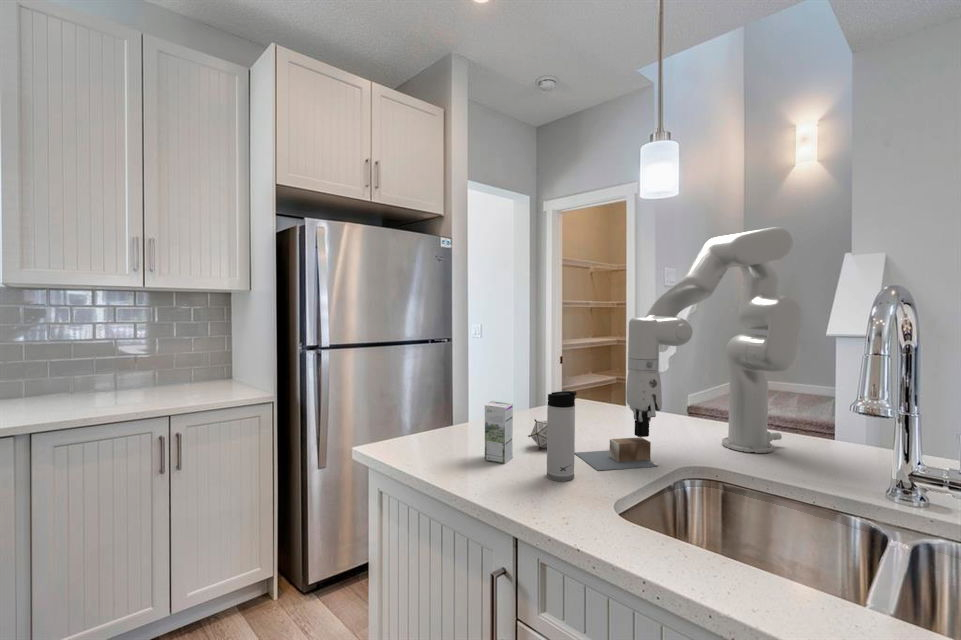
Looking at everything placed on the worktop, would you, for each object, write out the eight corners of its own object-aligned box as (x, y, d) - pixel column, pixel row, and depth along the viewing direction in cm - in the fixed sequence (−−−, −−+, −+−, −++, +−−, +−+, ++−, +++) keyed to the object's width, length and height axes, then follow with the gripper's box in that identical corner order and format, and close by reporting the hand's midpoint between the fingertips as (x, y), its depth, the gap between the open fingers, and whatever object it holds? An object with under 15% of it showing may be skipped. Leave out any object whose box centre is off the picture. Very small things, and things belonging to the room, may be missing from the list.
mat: (629, 449, 134) (629, 449, 134) (657, 466, 120) (657, 465, 120) (574, 453, 130) (574, 452, 130) (597, 471, 116) (597, 470, 116)
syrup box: (513, 457, 126) (513, 401, 126) (504, 464, 121) (505, 406, 120) (493, 454, 129) (493, 400, 128) (483, 461, 123) (483, 404, 123)
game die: (550, 463, 133) (561, 440, 127) (521, 450, 135) (531, 427, 129) (558, 440, 140) (568, 417, 134) (530, 428, 142) (539, 405, 136)
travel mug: (569, 484, 108) (570, 394, 107) (542, 478, 112) (543, 391, 111) (579, 475, 113) (580, 389, 113) (553, 470, 117) (554, 387, 116)
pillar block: (641, 437, 129) (609, 439, 127) (650, 442, 124) (618, 444, 123) (640, 454, 129) (609, 456, 127) (650, 459, 125) (617, 461, 123)
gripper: (673, 369, 119) (671, 443, 120) (640, 361, 134) (639, 428, 134) (645, 369, 118) (644, 445, 118) (615, 362, 132) (614, 429, 133)
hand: (641, 435), depth 126 cm, fingers closed
